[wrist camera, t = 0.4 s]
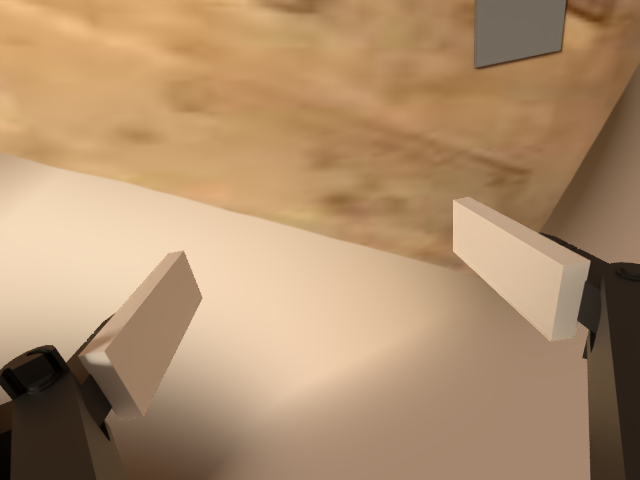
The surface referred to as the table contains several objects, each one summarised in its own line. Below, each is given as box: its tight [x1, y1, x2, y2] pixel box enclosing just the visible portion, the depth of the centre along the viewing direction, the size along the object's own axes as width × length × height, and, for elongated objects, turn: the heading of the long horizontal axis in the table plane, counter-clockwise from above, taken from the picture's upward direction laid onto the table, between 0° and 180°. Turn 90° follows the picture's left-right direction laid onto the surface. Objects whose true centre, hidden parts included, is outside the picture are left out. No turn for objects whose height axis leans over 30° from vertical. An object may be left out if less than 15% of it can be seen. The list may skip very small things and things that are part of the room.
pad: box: [474, 0, 566, 68], centre depth 35 cm, size 10×10×1 cm
